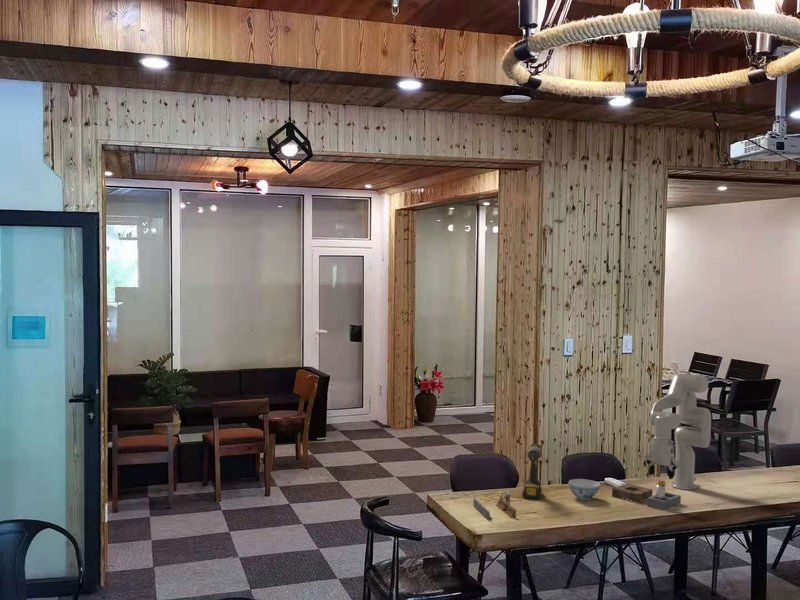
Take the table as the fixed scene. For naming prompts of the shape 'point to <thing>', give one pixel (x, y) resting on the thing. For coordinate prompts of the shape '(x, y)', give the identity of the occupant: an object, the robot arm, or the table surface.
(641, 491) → the socket block
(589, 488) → the chinaware
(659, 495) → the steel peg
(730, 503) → the table surface
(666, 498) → the gray cinder block
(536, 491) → the power drill
